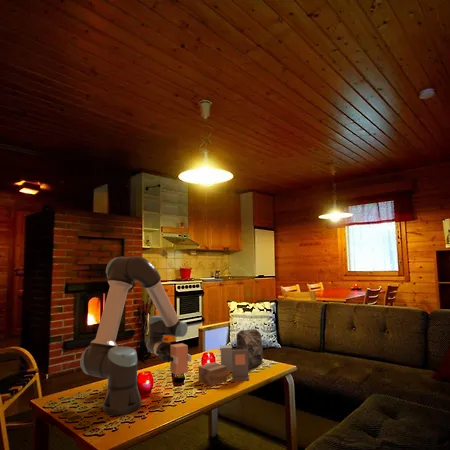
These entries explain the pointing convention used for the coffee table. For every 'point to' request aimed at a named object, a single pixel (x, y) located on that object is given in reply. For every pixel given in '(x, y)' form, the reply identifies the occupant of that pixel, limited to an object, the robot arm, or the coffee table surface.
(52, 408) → the coffee table surface
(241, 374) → the charcoal sign
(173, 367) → the terracotta block
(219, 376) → the walnut block
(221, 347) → the slate-grey block
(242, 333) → the stone block
